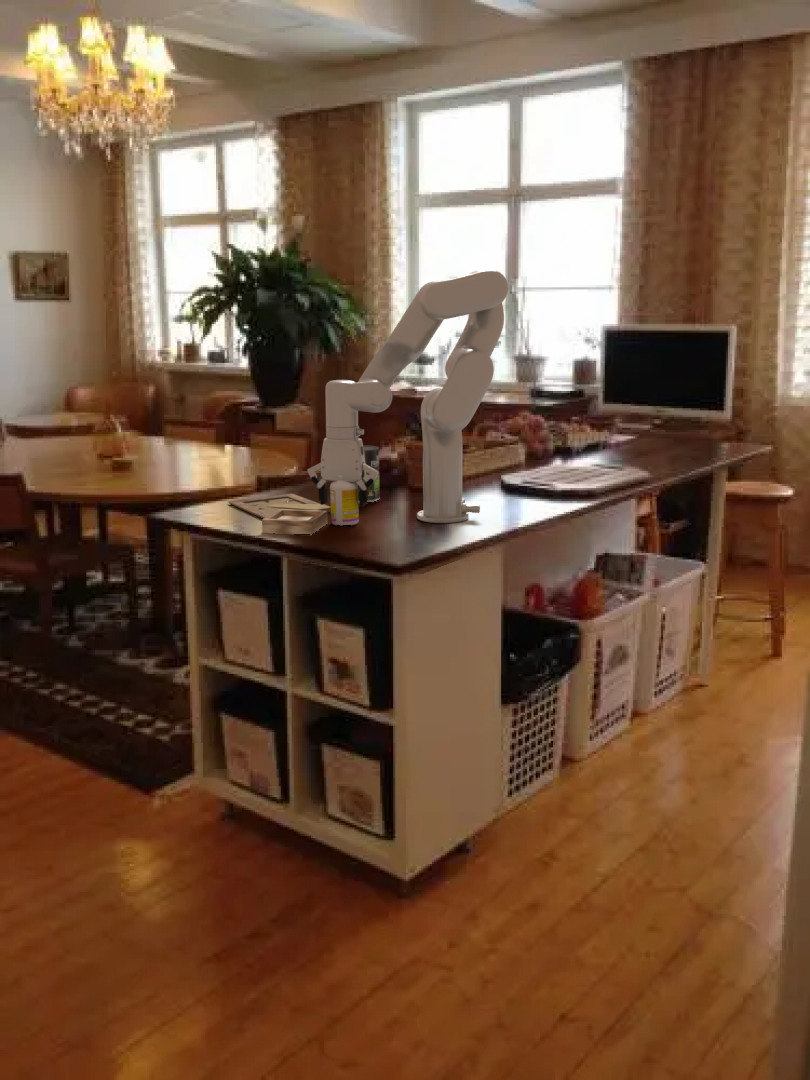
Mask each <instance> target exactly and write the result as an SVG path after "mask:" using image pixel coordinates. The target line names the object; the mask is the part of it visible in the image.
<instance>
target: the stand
mask: <svg viewBox="0 0 810 1080" xmlns="http://www.w3.org/2000/svg"><path fill="white" fill-rule="evenodd" d="M328 513H329V512H327V511H323V510H298V509H279V510H277V511H276V512H274V513H272V514H271V515H269V516H267V517H265V518H264V519H262V518H261V524H262V525H261V526H262V528H261V529H262V531H261V532H262V534H273V533H275V534H276V535H278V534H279V535H294V534H310V535H309V536H313V535H314V534H316V533H317V532H319V531H320V530H321V529H322V527H323V526H324V527H325V526H326V524H327V525H328V524H329V522H328V520H329V518H328V517H329V516H328V515H329V514H328ZM324 527H323V528H324ZM320 528H321V529H320ZM319 529H320V530H319ZM316 531H317V532H316ZM315 532H316V533H315ZM313 533H314V534H313ZM275 534H274V535H275ZM312 534H313V535H312Z"/></svg>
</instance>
